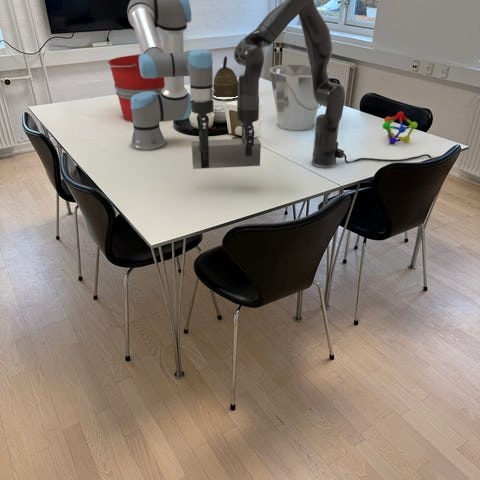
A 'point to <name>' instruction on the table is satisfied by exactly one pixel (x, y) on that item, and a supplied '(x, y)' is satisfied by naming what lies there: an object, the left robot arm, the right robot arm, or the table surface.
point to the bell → (225, 82)
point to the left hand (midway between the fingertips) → (204, 164)
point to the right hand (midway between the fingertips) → (247, 152)
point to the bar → (227, 153)
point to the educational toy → (398, 128)
